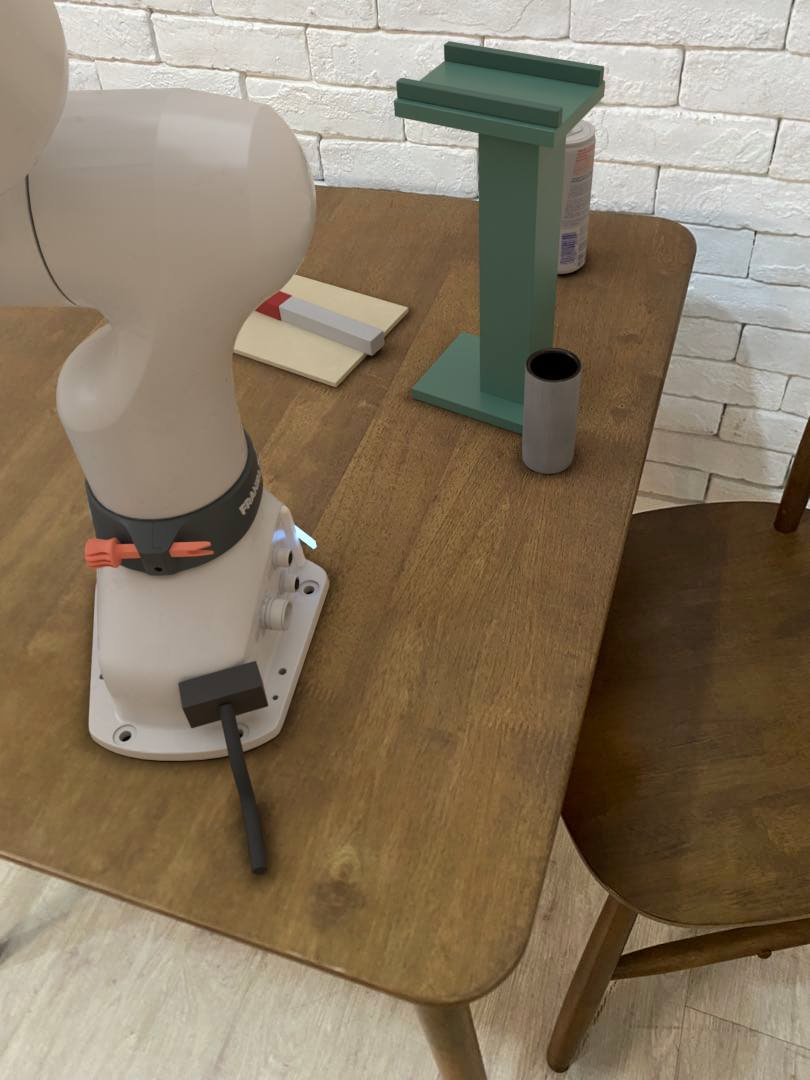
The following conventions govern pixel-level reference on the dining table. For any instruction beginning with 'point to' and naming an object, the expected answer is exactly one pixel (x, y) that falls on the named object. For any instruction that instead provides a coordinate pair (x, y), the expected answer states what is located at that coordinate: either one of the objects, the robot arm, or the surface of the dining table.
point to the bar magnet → (323, 322)
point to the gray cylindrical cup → (550, 409)
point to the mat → (308, 349)
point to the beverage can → (576, 196)
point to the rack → (505, 211)
